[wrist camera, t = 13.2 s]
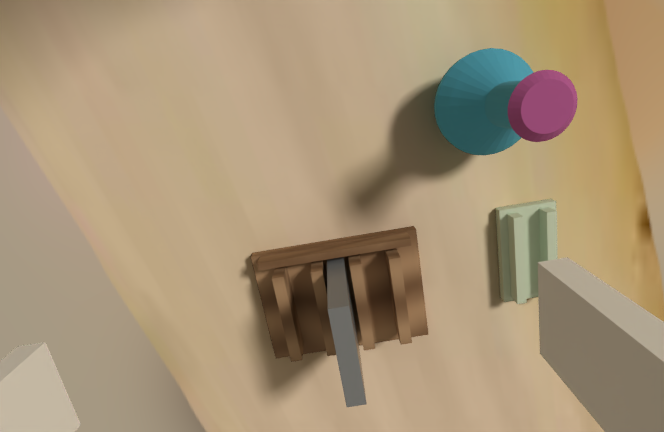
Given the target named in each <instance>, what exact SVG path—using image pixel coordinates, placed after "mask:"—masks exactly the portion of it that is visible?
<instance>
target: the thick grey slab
mask: <svg viewBox="0 0 664 432" xmlns="http://www.w3.org/2000/svg"><path fill="white" fill-rule="evenodd" d="M327 300H328V314H329V319H330V324H331V329H332V334H333V339H334V345H335V350H336V355H337V360H338V365H339V370H340V375H341V380H342V385H343V391H344V396H345V401H346V406H347V407H352V406H358V405H365V404H367V403H366V396H365V388H364V381H363V373H362V366H361V358H360V351H359V343H358V336H357V330H356V324H355V318H354V313H353V307H352V301H351V295H350V290H349V284H348V278H347V273H346V267H345V261H344V257H339V258H333V259H327Z"/></svg>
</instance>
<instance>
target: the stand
mask: <svg viewBox="0 0 664 432" xmlns="http://www.w3.org/2000/svg"><path fill="white" fill-rule="evenodd" d="M496 226H497V243H498V261H499V279H500V296H501V299H502V300H503V301H504V302H508V301H515V302H516V303H517V304H521V303H527V298H533V297H539V296H538V262H542V261H549V260H555V259H557V211H556V201H555V200H553V199H547V200H541V201H535V202H529V203H523V204H517V205H511V206H505V207H499V208H496Z"/></svg>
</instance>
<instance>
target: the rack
mask: <svg viewBox="0 0 664 432" xmlns="http://www.w3.org/2000/svg"><path fill="white" fill-rule="evenodd" d="M339 257H344V261H345V267H346V273H347V278H348V284H349V290H350V295H351V301H352V307H353V313H354V318H355V324H356V330H357V336H358V343H359V345H363V347H364V350H369V349H375V345H374V343H377V342H383V341H390V340H396V339H399V340H400V343H401V344H407V343H412V340H411V337H415V336H421V335H428V328H427V319H426V311H425V302H424V294H423V285H422V277H421V268H420V260H419V251H418V243H417V234H416V229H415V227H414V226H411V227H405V228H399V229H393V230H387V231H381V232H375V233H369V234H363V235H357V236H351V237H345V238H339V239H333V240H327V241H321V242H315V243H309V244H303V245H297V246H291V247H285V248H279V249H273V250H267V251H261V252H255V253H252V256H251V260H252V264H253V268H254V272H255V276H256V280H257V284H258V288H259V292H260V296H261V300H262V304H263V308H264V312H265V316H266V320H267V324H268V329H269V333H270V337H271V341H272V345H273V349H274V353H275V357H276V358H281V357H288V356H290V359H291V362H292V361H299V360H302V355H303V354H307V353H313V352H320V351H327V356H331V355H336V350H335V345H334V339H333V334H332V329H331V324H330V319H329V314H328V300H327V259H333V258H339Z"/></svg>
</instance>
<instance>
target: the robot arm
mask: <svg viewBox="0 0 664 432" xmlns="http://www.w3.org/2000/svg"><path fill="white" fill-rule="evenodd" d="M538 296H539V333H540V354H541V355H542V356H543V358H544V359H545V360H546V361H547V362H548V364H549V365H550V366H551V367H552V368H553V370H554V371H555V372H556V373H557V374H558V376H559V377H560V378H561V379H562V380H563V382H564V383H565V384H566V385H567V387H568V388H569V389H570V390H571V391H572V393H573V394H574V395H575V396H576V397H577V399H578V400H579V401H580V402H581V403H582V405H583V406H584V407H585V408H586V409H587V411H588V412H589V413H590V414H591V415H592V417H593V418H594V419H595V420H596V422H597V423H598V424H599V425H600V426H601V428H602V429H603V430H604V431H605V432H664V322H663V321H661V320H660V319H658V318H657V317H656V316H654V315H653V314H651V313H650V312H648V311H647V310H645V309H644V308H642V307H641V306H639V305H638V304H636V303H635V302H633V301H632V300H630V299H629V298H627V297H626V296H624V295H623V294H621V293H620V292H618V291H617V290H615V289H614V288H612V287H611V286H609V285H608V284H606V283H605V282H603V281H602V280H600V279H599V278H598V277H596V276H595V275H593V274H592V273H590V272H589V271H587V270H586V269H584V268H583V267H581V266H580V265H578V264H577V263H575V262H574V261H572V260H571V259H569V258H568V257H567V258H561V259H555V260H549V261H542V262H538ZM79 426H80V421H79V419H78V417H77V414H76V412H75V410H74V407H73V405H72V403H71V401H70V398H69V396H68V394H67V391H66V389H65V387H64V384H63V382H62V380H61V377H60V375H59V373H58V371H57V368H56V366H55V364H54V361H53V359H52V357H51V354H50V352H49V350H48V348H47V345H46V343H45V342H42V343H37V344H30V345H23V346H18V347H16V348H15V349H14V350H13V351H12V352H10V353H9V354H8V355H7V356H5V357H4V358H3V359H2V360H0V432H75V431H76V430H77V429H78V427H79Z"/></svg>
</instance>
